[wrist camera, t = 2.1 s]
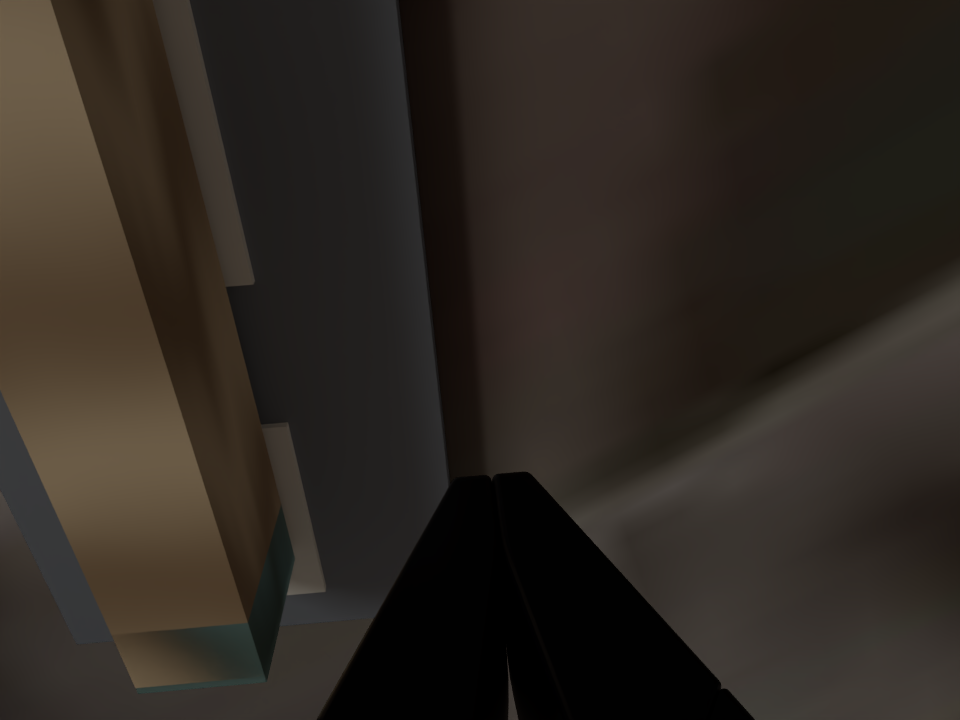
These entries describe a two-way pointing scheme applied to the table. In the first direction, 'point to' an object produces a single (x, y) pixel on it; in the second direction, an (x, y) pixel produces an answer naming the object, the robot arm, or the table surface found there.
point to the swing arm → (131, 349)
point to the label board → (302, 291)
